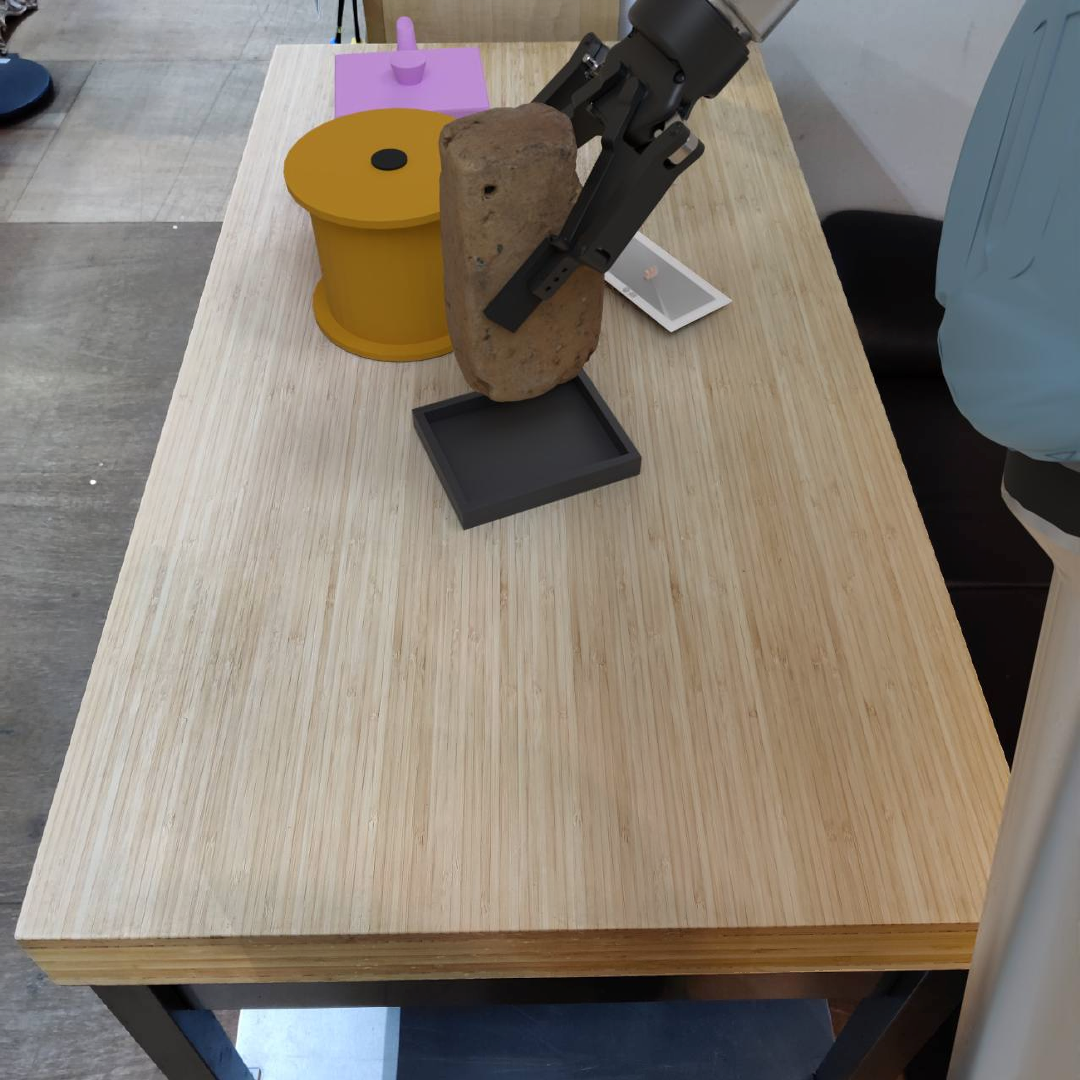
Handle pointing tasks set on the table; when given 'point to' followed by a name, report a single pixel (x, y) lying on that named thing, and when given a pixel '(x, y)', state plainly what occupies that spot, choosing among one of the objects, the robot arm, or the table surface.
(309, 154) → the spool
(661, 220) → the table surface
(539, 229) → the block
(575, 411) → the dark shallow tray
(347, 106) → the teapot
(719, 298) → the touchpad
